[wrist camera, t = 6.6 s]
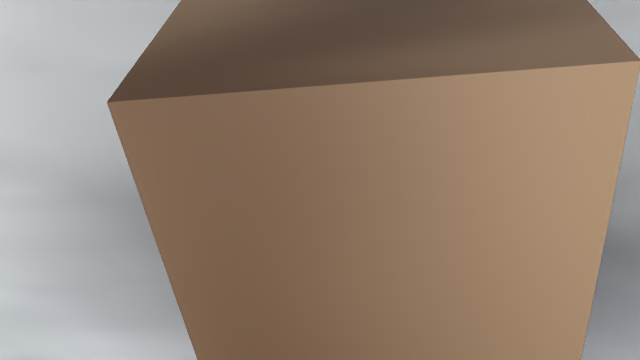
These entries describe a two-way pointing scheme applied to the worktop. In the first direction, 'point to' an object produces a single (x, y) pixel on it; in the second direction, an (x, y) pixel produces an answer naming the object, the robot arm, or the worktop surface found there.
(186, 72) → the batten
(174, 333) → the worktop surface
